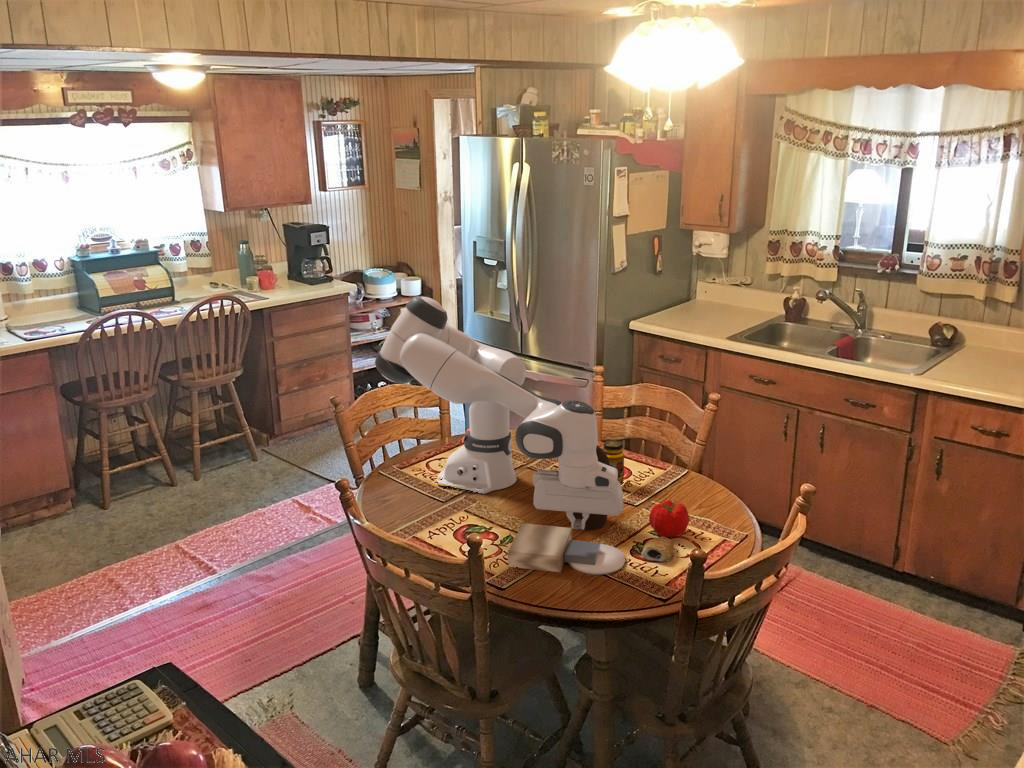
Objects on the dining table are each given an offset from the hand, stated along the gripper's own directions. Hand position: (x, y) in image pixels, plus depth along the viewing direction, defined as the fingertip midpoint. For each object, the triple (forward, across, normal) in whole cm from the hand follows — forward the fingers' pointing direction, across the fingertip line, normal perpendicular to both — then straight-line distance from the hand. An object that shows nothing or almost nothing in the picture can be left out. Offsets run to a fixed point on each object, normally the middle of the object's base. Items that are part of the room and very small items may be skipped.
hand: (578, 528), depth 191 cm
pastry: (+8, +18, +5) cm, 20 cm away
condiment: (+8, +2, +44) cm, 44 cm away
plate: (+8, +4, 0) cm, 9 cm away
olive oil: (+8, -1, +19) cm, 20 cm away
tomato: (+8, +19, +16) cm, 27 cm away
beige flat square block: (+8, -9, 0) cm, 12 cm away
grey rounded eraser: (+7, +1, -1) cm, 7 cm away
